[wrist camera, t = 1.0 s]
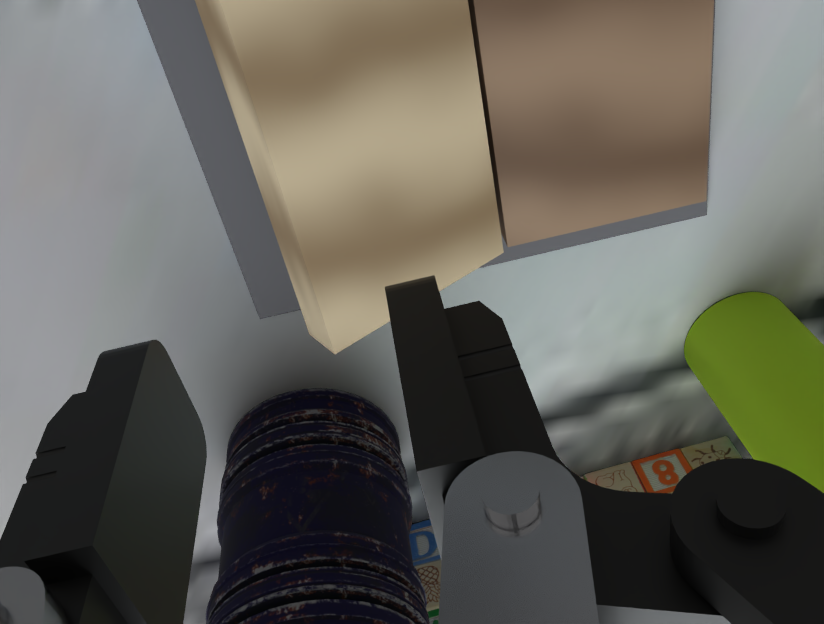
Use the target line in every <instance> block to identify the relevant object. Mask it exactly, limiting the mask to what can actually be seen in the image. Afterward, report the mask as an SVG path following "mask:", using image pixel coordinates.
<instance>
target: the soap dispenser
mask: <svg viewBox="0 0 824 624" xmlns="http://www.w3.org/2000/svg"><path fill="white" fill-rule="evenodd" d="M684 354H685V359H686V361H687V363H688V365H689V367H690V368H691V370H692V371H693V373H694V374H695V375H696V377H697V378H698V380H699V381H700V383H701V384H702V386H703V387H704V388H705V390H706V391H707V393H708V394H709V396H710V397H711V399H712V400H713V401H714V403H715V404H716V406H717V407H718V409H719V410H720V412H721V413H722V414H723V416H724V417H725V419H726V420H727V422H728V423H729V425H730V426H731V427H732V429H733V430H734V432H735V433H736V435H737V436H738V438H739V439H740V440H741V442H742V443H743V445H744V446H745V448H746V449H747V451H748V452H749V453H750V455H751V456H752V458H753V459H754V460H759V461H764V462H767V463H771V464H774V465H777V466H780V467H782V468H784V469H786V470H789V471H791V472H792V473H794V474H796V475H797V476H799V477H801V478H802V479H804V480H805V481H807V482H808V483H810V484H811V485H813V486H814V487H816V488H817V489H818V490H820V491H821V492H823V493H824V345H823V344H822V343H821V342H820V341H819V340H818V339H817V338H816V337H815V336H814V335H813V334H812V333H811V332H810V331H809V330H808V329H807V328H806V327H805V326H804V325H803V324H802V323H801V322H800V321H799V319H798V318H797V317H796V316H795V315H794V314H793V313H792V312H791V311H790V310H789V309H788V308H787V307H786V306H785V305H784V304H783V303H782V302H781V301H780V300H779V299H777V298H776V297H774V296H772V295H769V294H766V293H761V292H746V293H741V294H736V295H733V296H730V297H728V298H725V299H723V300H721V301H719V302H718V303H716V304H714V305H713V306H711V307H710V308H709V309H707V310H706V311H705V312H704V313H703V314H702V315H701V316H700V317H699V318H698V319H697V320H696V321H695V323H694V324H693V325H692V327H691V329H690V330H689V332H688V335H687V337H686V340H685V345H684Z"/></svg>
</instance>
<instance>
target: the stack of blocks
mask: <svg viewBox="0 0 824 624" xmlns="http://www.w3.org/2000/svg"><path fill="white" fill-rule="evenodd" d="M731 458H742V457H741V455H740V454H739V452H738V451H737V449H736V448H735V447H734V445H733V444H732V442H731V441H730V440H729V438H728V437H727V436H725V437H721V438H717V439H714V440H710V441H707V442H703V443H699V444H696V445H692V446H688V447H685V448H681V449H674V450H670V451H667V452H663V453H660V454H656V455H652V456H649V457H645V458H642V459H638V460H634V461H632V462H627V463H624V464H619V465H616V466H612V467H609V468H605V469H601V470H598V471H595V472H591V473H588V474H585V475H584V476H582V477H580V478H582V479H584V480H586V481H588V482H590V483H593V484H595V485H598V486H601V487H604V488H609V489H613V490H619V491H629V492H650V493H673V491H674V489H675V487H676V485H677V484H678V483H679V481H680V480H681V479H682V478H683V477H684V476H685V475H686V474H687V473H689V472H690V471H691V470H693V469H695V468H697V467H699V466H700V465H703V464H706V463H709V462H711V461H716V460H721V459H731ZM409 539H410V546H411V552H412V559H413V566H414V567H415V568H416V570H417V572H418V574H419V576H420V578H421V582H422V585H423V587H424V589H425V593H426V598H427V606H426V610H427V612H428V615H429V621H430V624H438V621H439V601H440V581H441V558H440V554H439V550H438V547H437V543H436V539H435V536H434V532H433V528H432V525H431V521H430V519H429V520H426V521H422V522H419V523H416V524H412V526H411V531H410V534H409Z"/></svg>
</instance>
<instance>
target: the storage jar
mask: <svg viewBox="0 0 824 624" xmlns="http://www.w3.org/2000/svg"><path fill="white" fill-rule="evenodd" d="M400 453H401V451H400V444H399V439H398V434H397V432H396V429H395V427H394V425H393V424H392V422H391V421H390V419H389V418H388V416H387V415H386V414H385V413H384V412H383V411H382V410H381V409H379V408H378V407H377V406H375V405H374V404H373V403H371V402H369V401H367V400H365V399H363V398H361V397H359V396H357V395H354V394H351V393H348V392H343V391H338V390H333V389H320V388H318V389H302V390H297V391H291V392H287V393H284V394H281V395H277V396H275V397H273V398H270V399H268V400H266V401H264V402H262V403H261V404H259V405H258V406H256V407H254V408H253V409H252V410H251V411H249V412H248V413H247V414H246V415H245V416H244V417H243V418H242V419H241V420H240V422H239V423H238V424H237V425H236V427H235V429H234V431H233V432H232V434H231V437H230V440H229V443H228V450H227V461H226V462H227V464H226V468H225V472H224V475H223V478H222V483H221V492H220V502H219V511H218V517H217V526H218V538H219V543H220V546H221V557H220V567H219V576H218V581H217V582H216V584H215V586H214V588H213V591H212V594H211V596H210V601H209V603H208V606H207V609H206V624H430V621H429V615H428V612H427V610H426V606H427V598H426V593H425V589H424V587H423V585H422V582H421V578H420V576H419V574H418V572H417V570H416V568H415V567H414V566H413V559H412V552H411V546H410V539H409V534H410V531H411V526H412V502H411V497H410V494H409V488H408V482H407V475H406V470H405V467H404V464H403V462H402V458H401V455H400Z"/></svg>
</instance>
